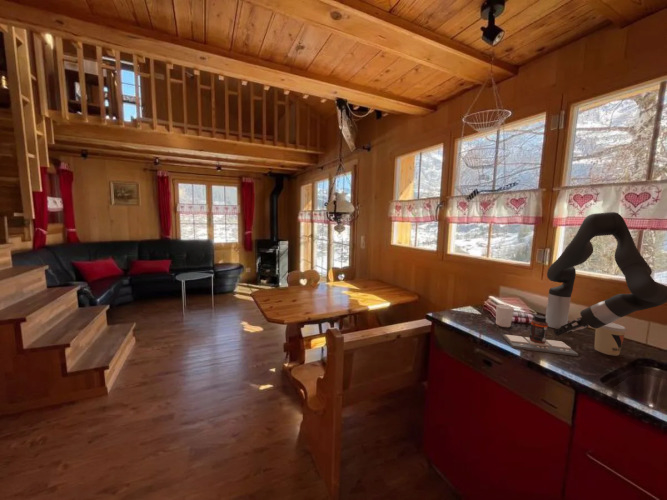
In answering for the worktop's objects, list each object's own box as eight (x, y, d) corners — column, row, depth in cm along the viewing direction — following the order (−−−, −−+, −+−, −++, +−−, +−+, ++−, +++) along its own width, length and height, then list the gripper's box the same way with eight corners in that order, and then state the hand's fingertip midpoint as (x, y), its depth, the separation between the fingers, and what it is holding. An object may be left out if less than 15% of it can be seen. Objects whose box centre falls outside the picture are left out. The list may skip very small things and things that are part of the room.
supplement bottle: (548, 344, 121) (551, 319, 120) (533, 342, 122) (536, 318, 121) (541, 339, 127) (544, 315, 125) (526, 337, 128) (529, 313, 127)
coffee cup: (615, 358, 115) (619, 330, 113) (587, 348, 123) (591, 322, 122) (626, 354, 118) (630, 327, 117) (598, 345, 127) (602, 319, 126)
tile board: (502, 336, 132) (503, 333, 131) (561, 344, 126) (561, 340, 126) (512, 347, 120) (513, 344, 120) (577, 356, 115) (578, 352, 114)
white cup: (495, 321, 153) (497, 303, 152) (512, 324, 149) (514, 306, 148) (493, 325, 147) (495, 306, 146) (511, 329, 142) (513, 310, 141)
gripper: (601, 303, 110) (563, 321, 121) (583, 307, 104) (545, 326, 115) (617, 321, 106) (576, 338, 117) (600, 325, 99) (558, 343, 111)
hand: (561, 332), depth 116 cm, fingers open, 8 cm apart
